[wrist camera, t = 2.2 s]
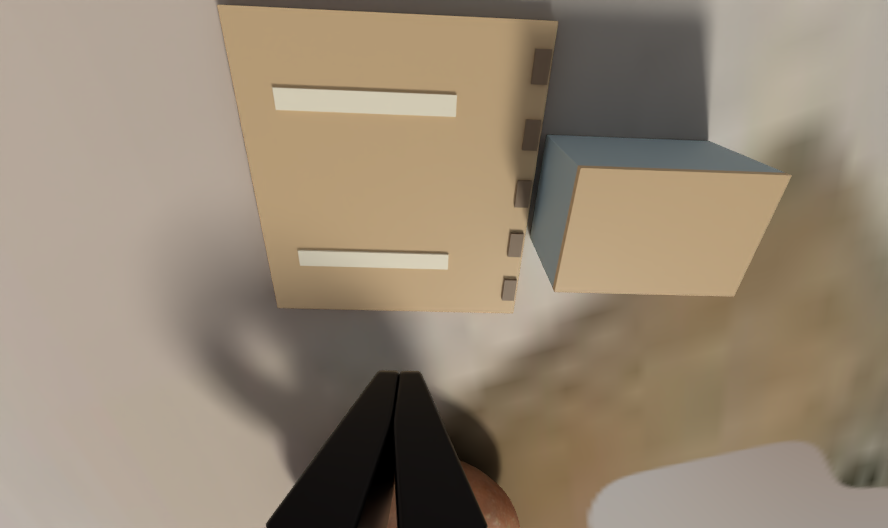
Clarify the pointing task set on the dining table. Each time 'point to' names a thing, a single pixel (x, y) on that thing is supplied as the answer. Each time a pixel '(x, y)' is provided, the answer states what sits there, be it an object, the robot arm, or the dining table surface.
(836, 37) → the dining table surface
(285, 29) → the pad
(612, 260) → the stub
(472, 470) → the ceramic jug
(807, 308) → the dining table surface
